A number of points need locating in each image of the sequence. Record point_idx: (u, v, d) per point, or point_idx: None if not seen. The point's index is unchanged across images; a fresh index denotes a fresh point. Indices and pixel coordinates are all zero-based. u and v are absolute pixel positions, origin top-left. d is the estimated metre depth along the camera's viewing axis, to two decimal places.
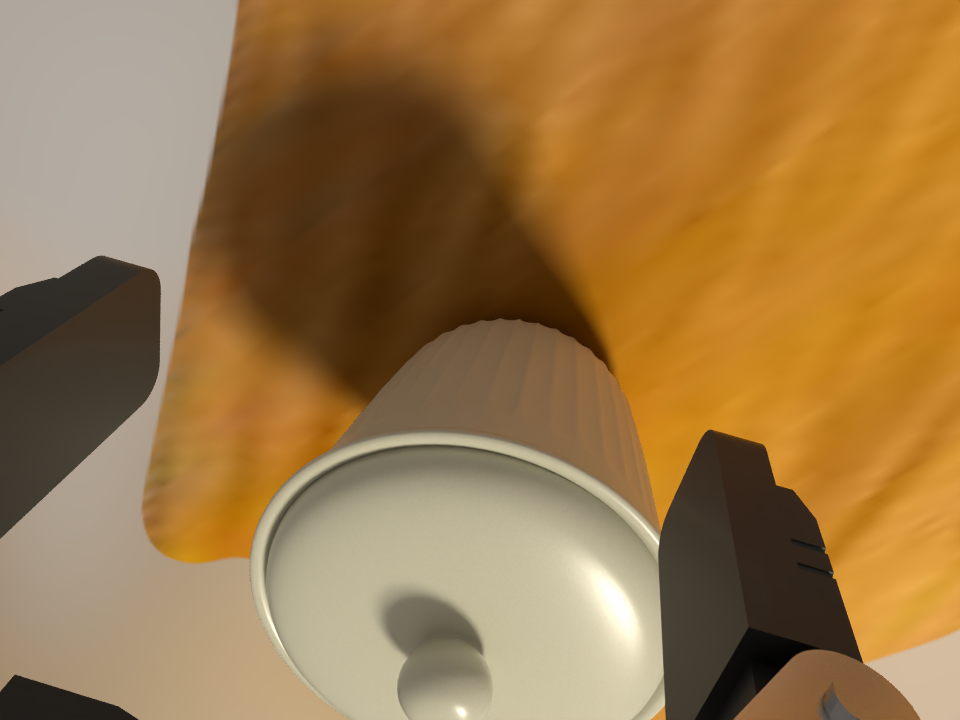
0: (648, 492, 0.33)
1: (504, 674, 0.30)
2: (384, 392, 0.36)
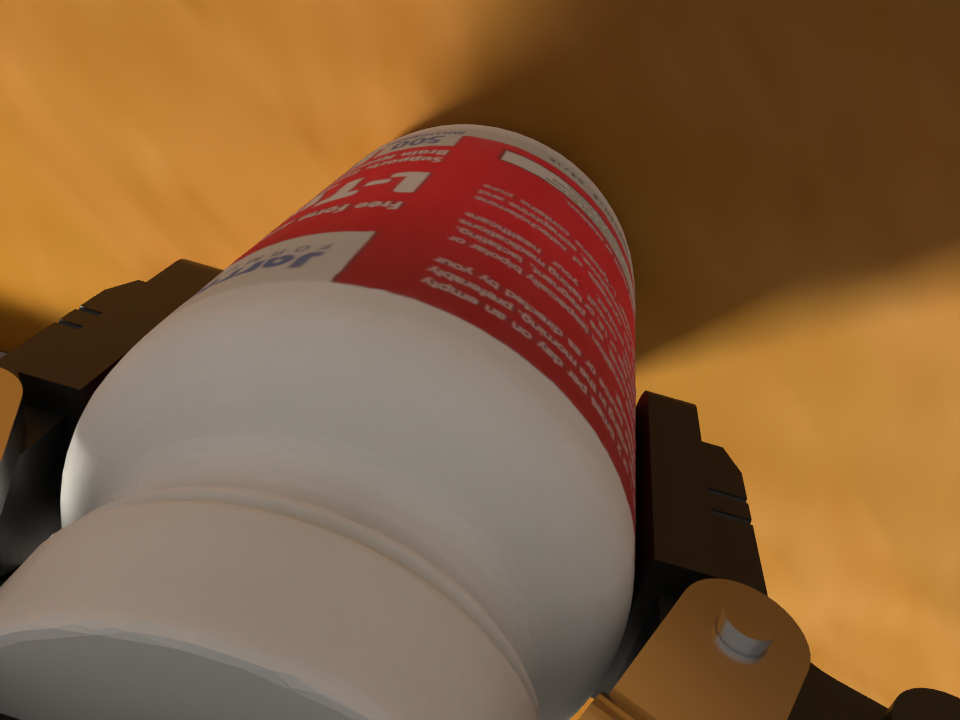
0: None
1: None
2: None
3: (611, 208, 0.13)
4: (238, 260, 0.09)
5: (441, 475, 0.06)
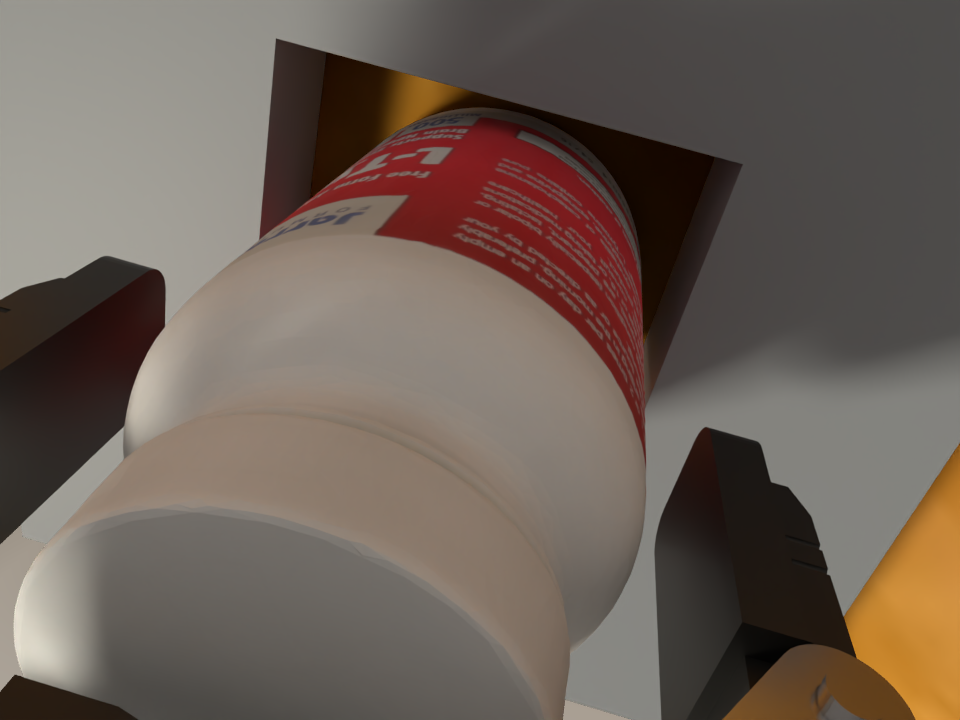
0: None
1: None
2: None
3: (618, 187, 0.14)
4: (281, 223, 0.09)
5: (476, 401, 0.07)
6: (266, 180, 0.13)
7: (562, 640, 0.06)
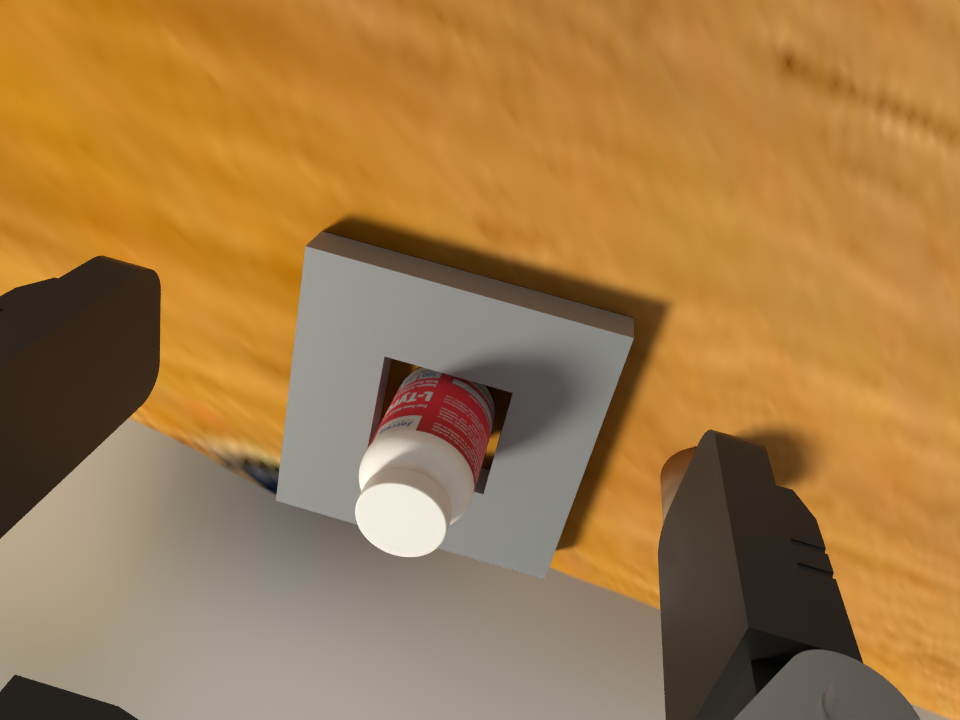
0: None
1: None
2: None
3: (486, 388, 0.45)
4: (392, 419, 0.41)
5: (435, 465, 0.38)
6: (378, 389, 0.45)
7: (449, 506, 0.38)
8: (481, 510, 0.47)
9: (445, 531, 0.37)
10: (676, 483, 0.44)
